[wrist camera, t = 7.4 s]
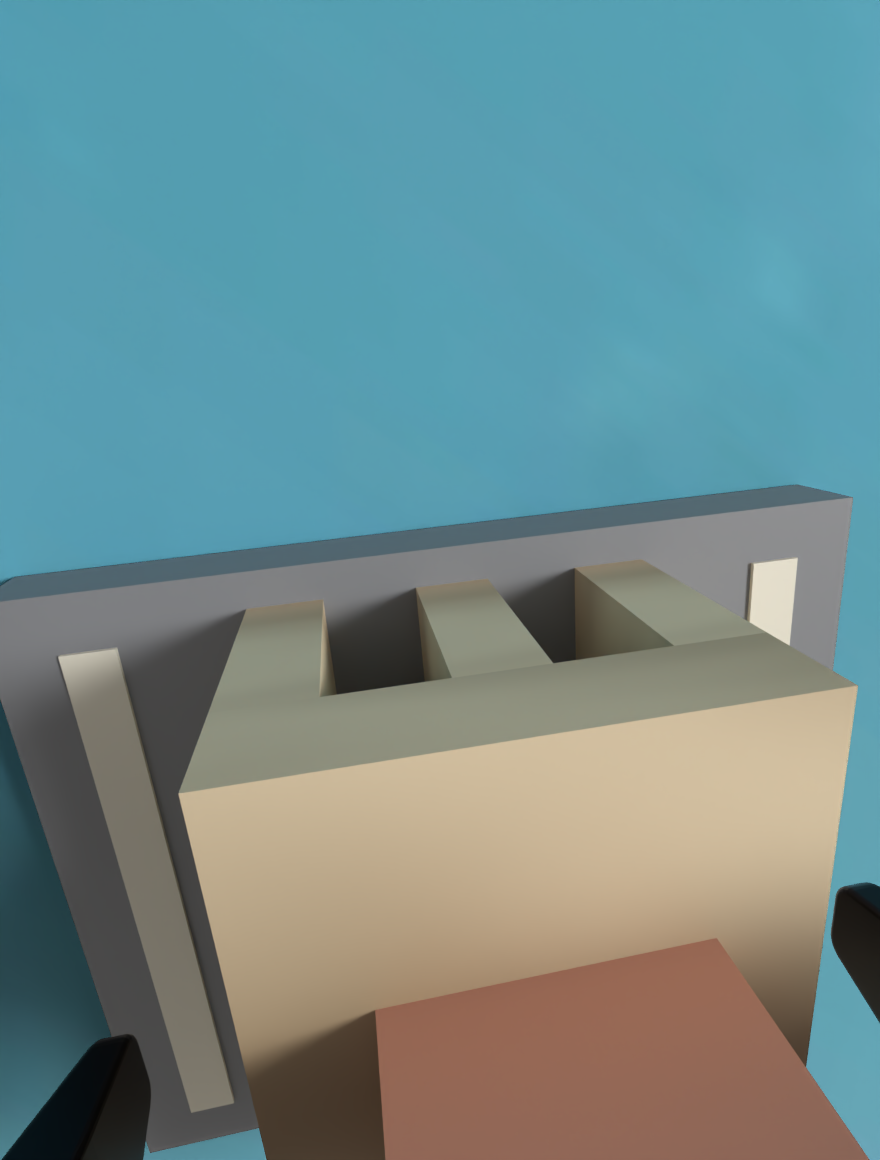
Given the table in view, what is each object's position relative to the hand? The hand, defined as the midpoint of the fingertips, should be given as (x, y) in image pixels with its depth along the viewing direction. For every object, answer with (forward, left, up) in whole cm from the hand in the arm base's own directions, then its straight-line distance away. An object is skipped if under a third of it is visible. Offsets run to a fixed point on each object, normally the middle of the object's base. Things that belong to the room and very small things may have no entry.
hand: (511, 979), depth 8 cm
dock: (0, 0, -4) cm, 4 cm away
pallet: (0, 0, -2) cm, 2 cm away
